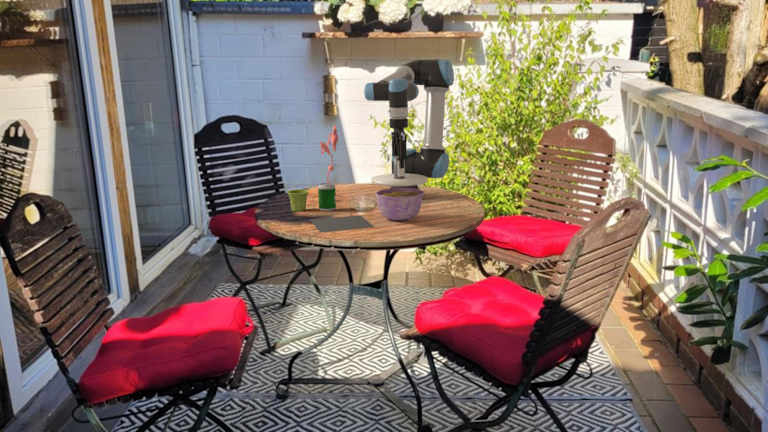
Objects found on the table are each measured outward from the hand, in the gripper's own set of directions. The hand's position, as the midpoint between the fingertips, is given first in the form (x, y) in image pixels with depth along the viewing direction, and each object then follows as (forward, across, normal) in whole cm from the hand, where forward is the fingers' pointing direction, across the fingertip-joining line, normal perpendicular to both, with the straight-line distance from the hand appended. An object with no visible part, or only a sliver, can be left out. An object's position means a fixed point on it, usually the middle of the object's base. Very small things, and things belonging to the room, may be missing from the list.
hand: (399, 174), depth 292 cm
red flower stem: (+19, -51, -15) cm, 57 cm away
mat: (+19, 0, -25) cm, 31 cm away
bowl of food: (+19, 0, 0) cm, 19 cm away
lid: (+3, 0, 0) cm, 3 cm away
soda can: (+19, -27, -25) cm, 41 cm away
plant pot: (+19, -32, -37) cm, 52 cm away
